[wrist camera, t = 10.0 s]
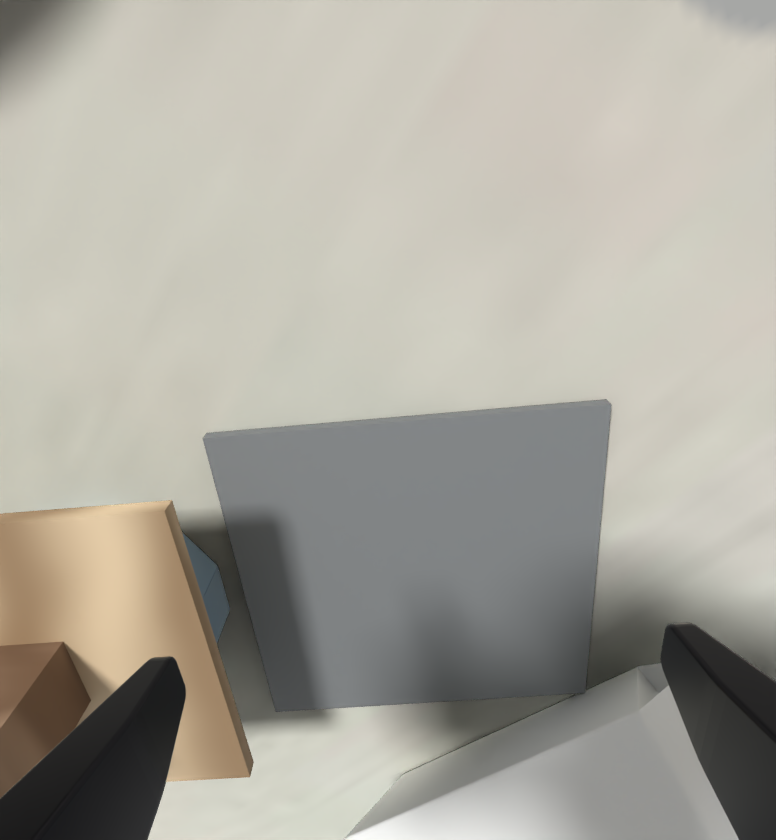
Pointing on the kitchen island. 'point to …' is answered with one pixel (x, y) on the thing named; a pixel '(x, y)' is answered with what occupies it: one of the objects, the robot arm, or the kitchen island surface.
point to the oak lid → (106, 633)
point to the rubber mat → (418, 552)
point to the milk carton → (564, 777)
